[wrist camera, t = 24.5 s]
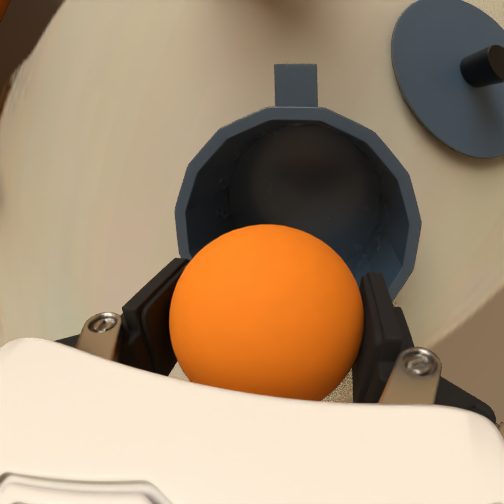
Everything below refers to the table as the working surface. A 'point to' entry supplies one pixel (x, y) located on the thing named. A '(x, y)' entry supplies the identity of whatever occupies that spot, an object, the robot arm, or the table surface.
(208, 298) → the ball
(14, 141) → the table surface
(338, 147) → the pot
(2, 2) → the alarm clock
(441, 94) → the lid
